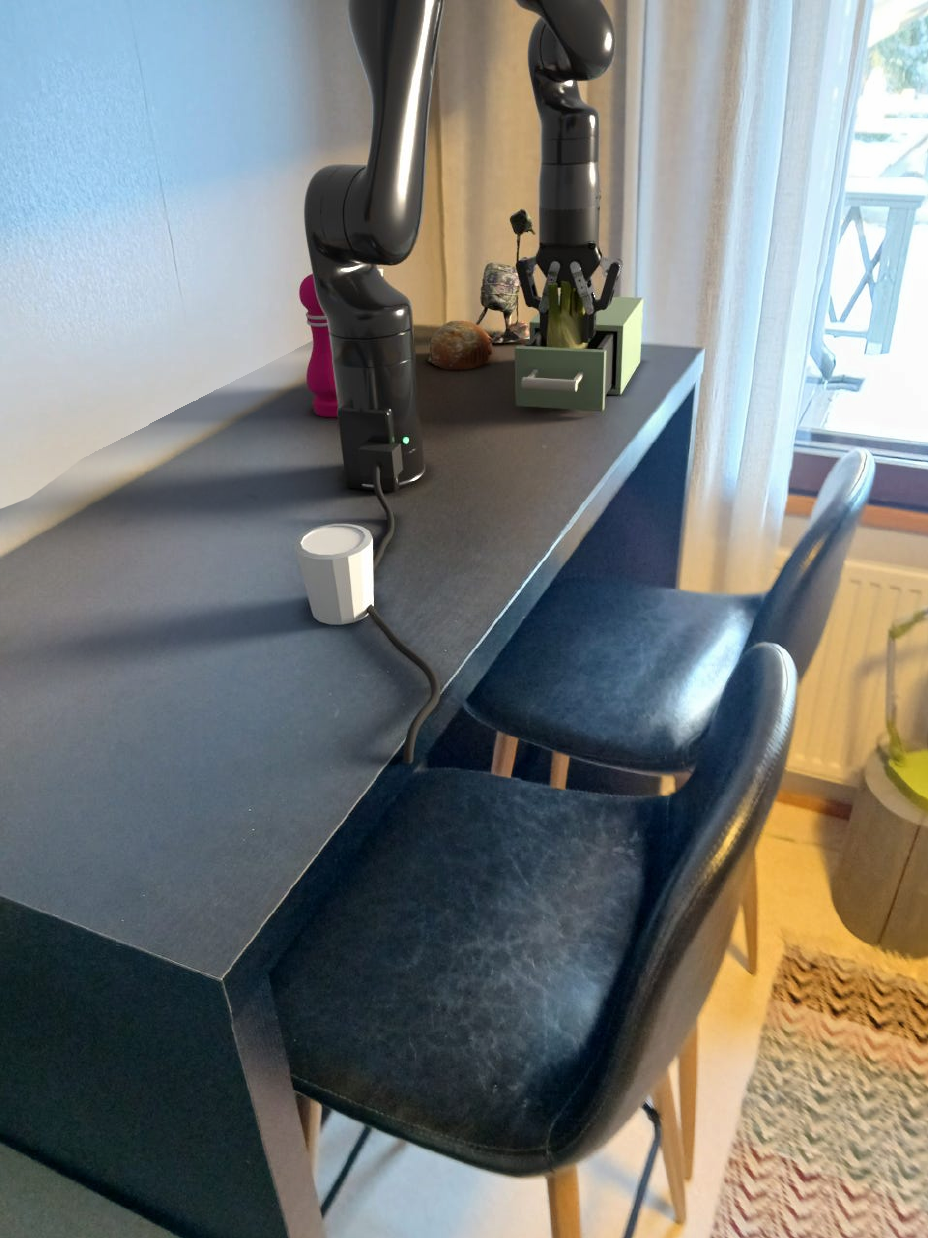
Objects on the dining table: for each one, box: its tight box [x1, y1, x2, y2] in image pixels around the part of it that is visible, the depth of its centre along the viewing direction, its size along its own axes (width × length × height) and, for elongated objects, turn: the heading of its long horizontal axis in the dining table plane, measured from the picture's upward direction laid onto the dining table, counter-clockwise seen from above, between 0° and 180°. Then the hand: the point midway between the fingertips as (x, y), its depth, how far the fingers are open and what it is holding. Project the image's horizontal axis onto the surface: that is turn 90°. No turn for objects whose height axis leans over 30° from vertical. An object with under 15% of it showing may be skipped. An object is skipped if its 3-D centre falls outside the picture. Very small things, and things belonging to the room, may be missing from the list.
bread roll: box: [428, 320, 494, 371], centre depth 147 cm, size 10×10×8 cm
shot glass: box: [293, 523, 375, 626], centre depth 83 cm, size 7×7×7 cm
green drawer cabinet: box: [528, 294, 644, 396], centre depth 136 cm, size 16×13×10 cm
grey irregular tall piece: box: [475, 208, 536, 344], centre depth 152 cm, size 8×11×20 cm
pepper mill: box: [298, 273, 338, 418], centre depth 126 cm, size 7×7×20 cm
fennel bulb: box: [547, 281, 588, 349], centre depth 123 cm, size 6×5×12 cm
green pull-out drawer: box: [514, 330, 618, 412], centre depth 126 cm, size 20×12×8 cm, turn 161°
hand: (567, 339), depth 124 cm, fingers closed on fennel bulb, 4 cm apart
